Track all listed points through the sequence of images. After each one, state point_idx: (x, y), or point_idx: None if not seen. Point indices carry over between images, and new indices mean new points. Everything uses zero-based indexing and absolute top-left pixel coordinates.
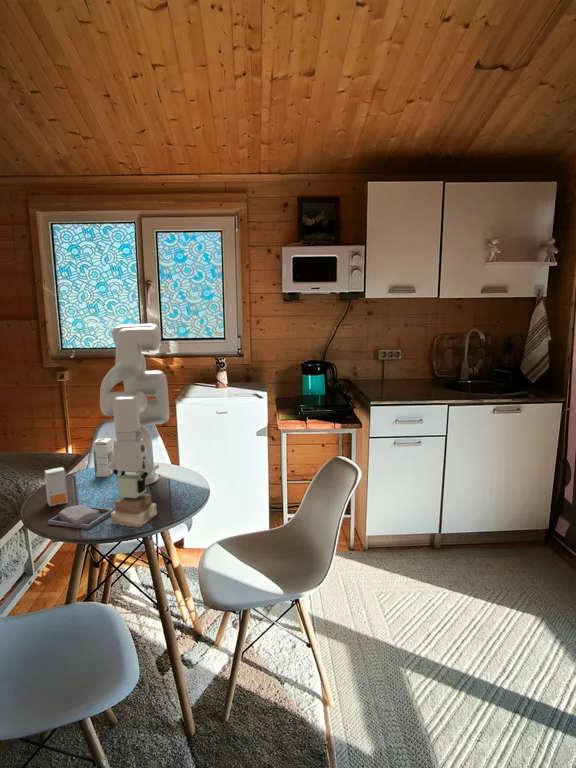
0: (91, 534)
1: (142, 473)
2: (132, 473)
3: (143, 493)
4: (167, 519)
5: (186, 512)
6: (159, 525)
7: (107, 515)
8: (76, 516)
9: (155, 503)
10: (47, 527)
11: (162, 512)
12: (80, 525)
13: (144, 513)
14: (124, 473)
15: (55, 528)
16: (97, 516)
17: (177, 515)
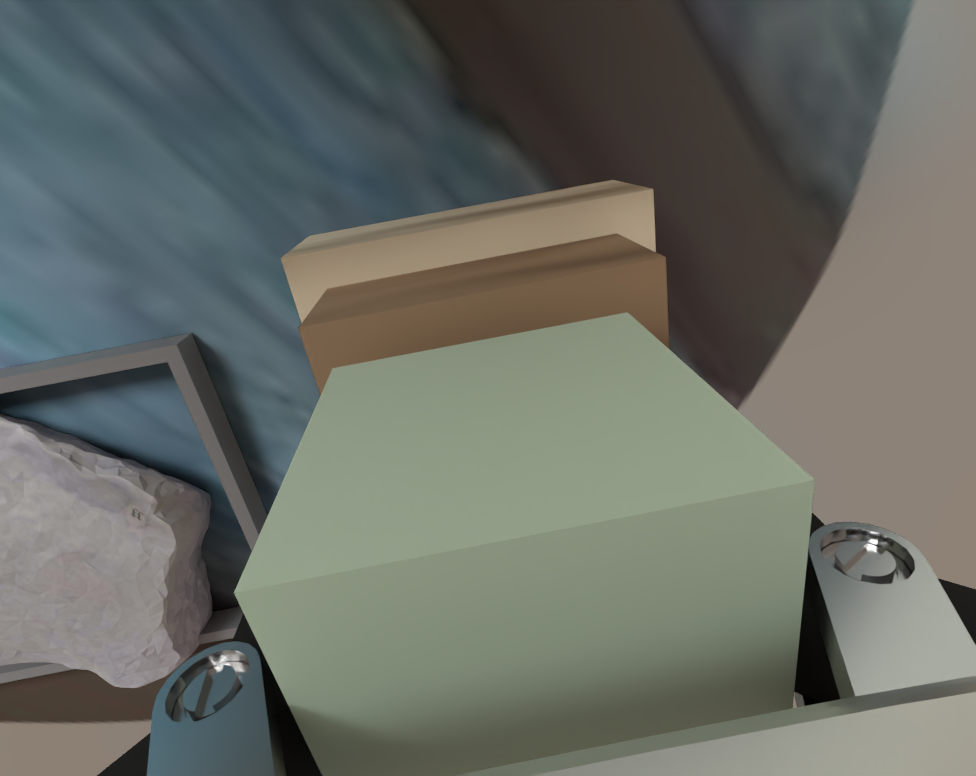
0: None
1: (884, 666)
2: (462, 627)
3: (543, 286)
4: (772, 237)
5: (891, 7)
6: (761, 357)
7: (222, 421)
8: (132, 661)
9: (645, 194)
10: (15, 693)
11: (641, 120)
12: (230, 633)
13: None
14: (281, 739)
15: (81, 680)
16: (195, 501)
17: (827, 119)
